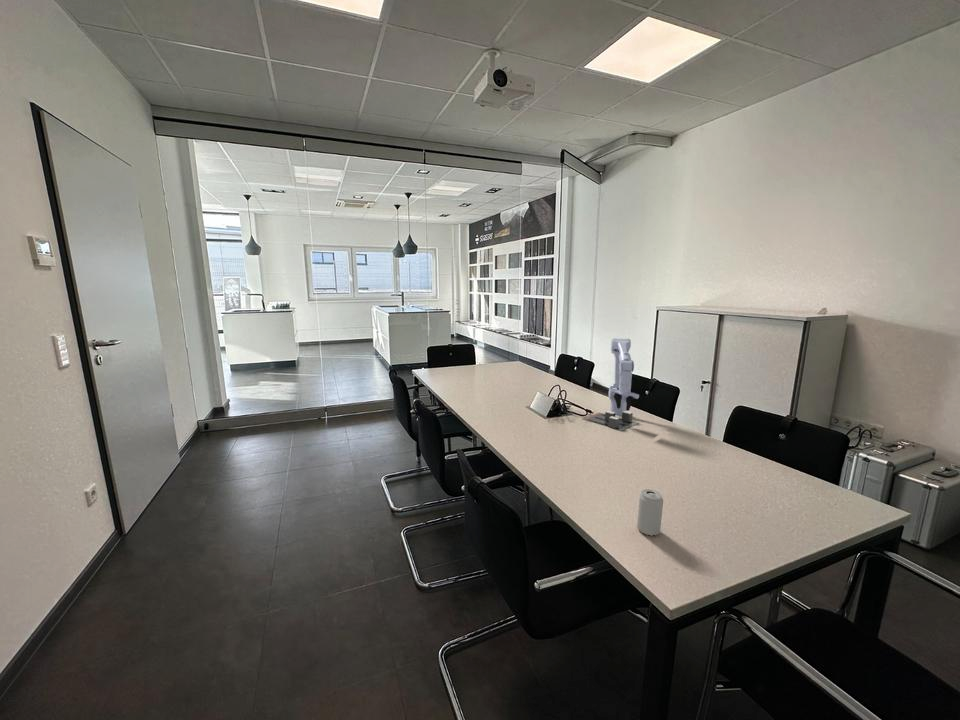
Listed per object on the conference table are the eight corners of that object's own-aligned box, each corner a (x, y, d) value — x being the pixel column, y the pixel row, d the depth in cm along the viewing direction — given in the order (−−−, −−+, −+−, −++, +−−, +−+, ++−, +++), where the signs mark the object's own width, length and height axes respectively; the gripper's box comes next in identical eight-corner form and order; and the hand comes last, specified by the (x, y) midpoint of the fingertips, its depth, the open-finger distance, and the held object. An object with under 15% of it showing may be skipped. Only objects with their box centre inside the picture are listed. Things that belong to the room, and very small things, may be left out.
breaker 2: (624, 418, 214) (625, 410, 213) (632, 420, 211) (632, 412, 210) (621, 420, 212) (622, 411, 211) (628, 422, 209) (629, 413, 208)
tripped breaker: (608, 418, 214) (608, 410, 213) (615, 420, 211) (615, 412, 210) (604, 420, 211) (605, 411, 211) (611, 422, 208) (612, 413, 208)
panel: (599, 415, 226) (599, 412, 226) (639, 425, 209) (639, 422, 209) (581, 421, 214) (581, 419, 214) (622, 433, 197) (623, 430, 197)
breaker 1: (611, 424, 205) (612, 415, 204) (619, 426, 202) (619, 417, 201) (608, 426, 202) (608, 417, 202) (615, 428, 199) (616, 419, 199)
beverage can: (653, 524, 121) (657, 488, 119) (664, 537, 115) (667, 499, 113) (633, 524, 121) (636, 488, 119) (642, 537, 115) (646, 499, 112)
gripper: (608, 382, 205) (606, 407, 207) (635, 387, 194) (632, 414, 197) (615, 380, 209) (613, 404, 212) (641, 385, 199) (639, 411, 201)
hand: (623, 409), depth 205 cm, fingers open, 4 cm apart
